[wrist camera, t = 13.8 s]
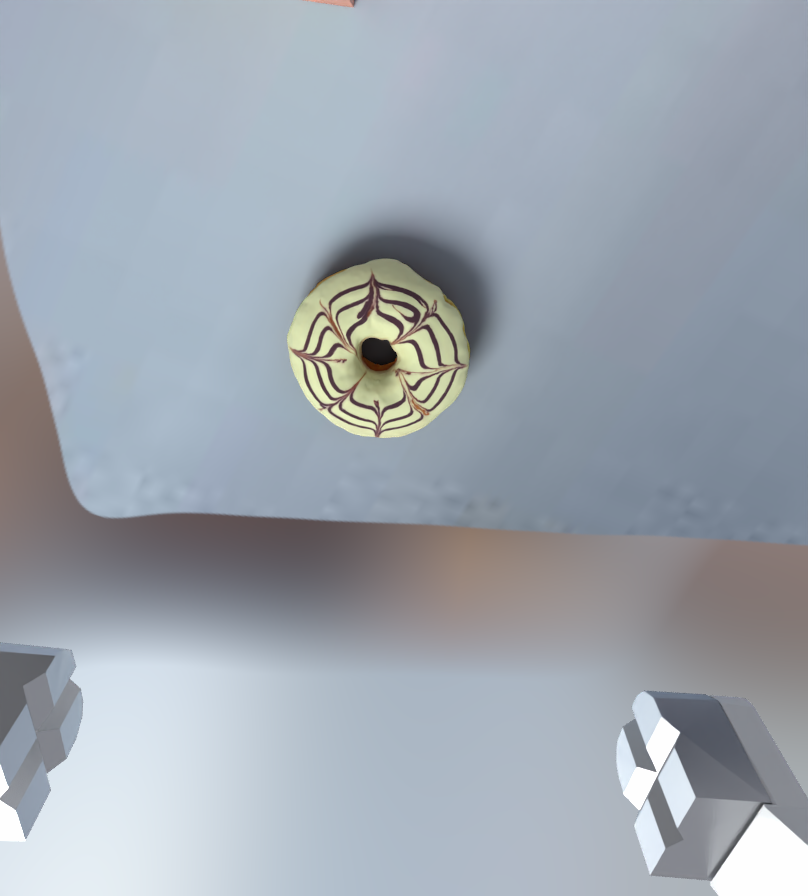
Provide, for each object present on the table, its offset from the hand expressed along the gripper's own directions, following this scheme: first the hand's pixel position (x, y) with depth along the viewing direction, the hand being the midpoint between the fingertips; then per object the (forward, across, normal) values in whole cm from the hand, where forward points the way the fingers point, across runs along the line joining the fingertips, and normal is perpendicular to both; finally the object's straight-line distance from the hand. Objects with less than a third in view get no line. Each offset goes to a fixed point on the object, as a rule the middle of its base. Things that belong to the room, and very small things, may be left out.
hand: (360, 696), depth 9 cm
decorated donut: (+32, 0, +6) cm, 32 cm away
